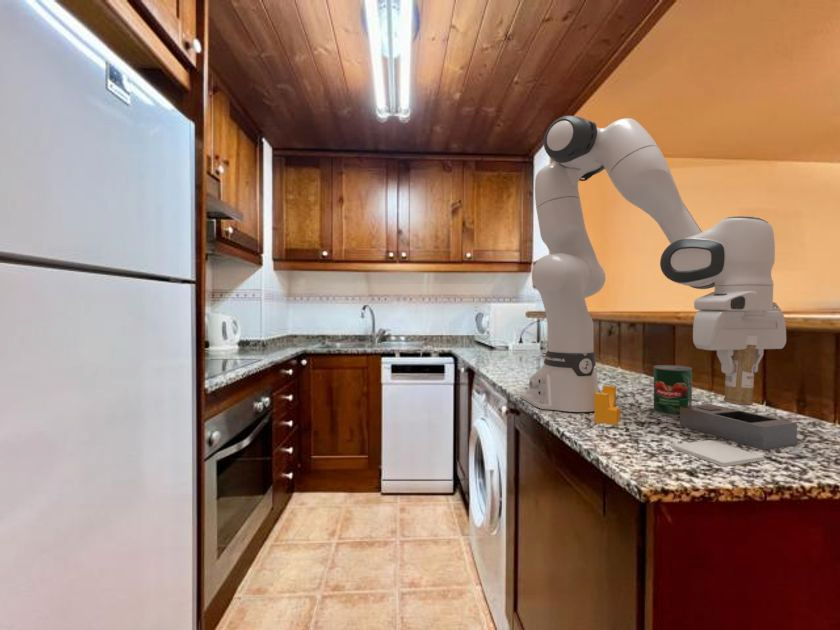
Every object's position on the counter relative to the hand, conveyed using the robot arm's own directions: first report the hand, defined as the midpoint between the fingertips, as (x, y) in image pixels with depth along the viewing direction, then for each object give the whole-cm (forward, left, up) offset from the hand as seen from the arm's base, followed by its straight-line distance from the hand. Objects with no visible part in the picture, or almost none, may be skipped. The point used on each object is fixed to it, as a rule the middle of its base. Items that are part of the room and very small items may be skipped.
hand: (739, 372), depth 77 cm
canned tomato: (-18, +4, -13) cm, 23 cm away
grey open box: (-1, 0, -12) cm, 13 cm away
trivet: (+6, -14, -12) cm, 19 cm away
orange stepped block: (-19, -13, -13) cm, 27 cm away
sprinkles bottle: (0, 0, -6) cm, 6 cm away
